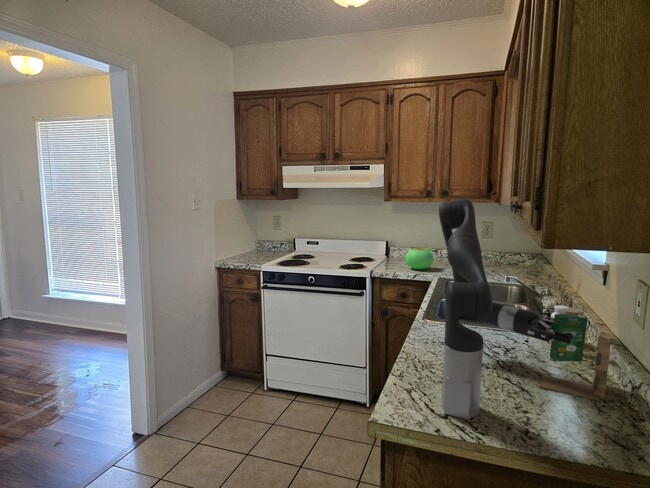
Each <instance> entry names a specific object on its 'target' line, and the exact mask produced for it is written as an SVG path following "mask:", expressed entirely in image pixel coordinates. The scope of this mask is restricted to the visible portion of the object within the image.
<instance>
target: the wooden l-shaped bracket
mask: <svg viewBox="0 0 650 488" xmlns="http://www.w3.org/2000/svg"><path fill="white" fill-rule="evenodd" d="M606 334H607V333H606V330H605V329H602V328H600V331H599V335H598V340H597V341H598V342H597V350H596V351H597V352H596V358H595V370H594V379H593V384H588V383H583V382H577V381H574V380H570V379H563V378H559V377H555V376H554V377H553V376H549V375H544V374H542V376H541V383H540V389H542V390H547V391H552V392H557V393H560V394H565V395H570V396H574V397H577V398H578V397H579V398H584V399H589V400H593V401H598V402H601V399H603V400H605V398H606V390H607V381H608V380H607V379H608V369H609V359H610V350H611V338H610V337H609V336H607V335H606Z"/></svg>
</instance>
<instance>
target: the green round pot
mask: <svg viewBox="0 0 650 488" xmlns="http://www.w3.org/2000/svg"><path fill="white" fill-rule="evenodd" d="M432 249H433V247H426V248H421V247H416V248H413V249H412V248H408V252H407V253H406V255H405V263H406V264H407V266H408V267H410V268H412V269H414V270H426V269H429V268H430V267H432V265H433V264H434V259H435V258H434V255H433V254H432V252H431V250H432Z"/></svg>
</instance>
